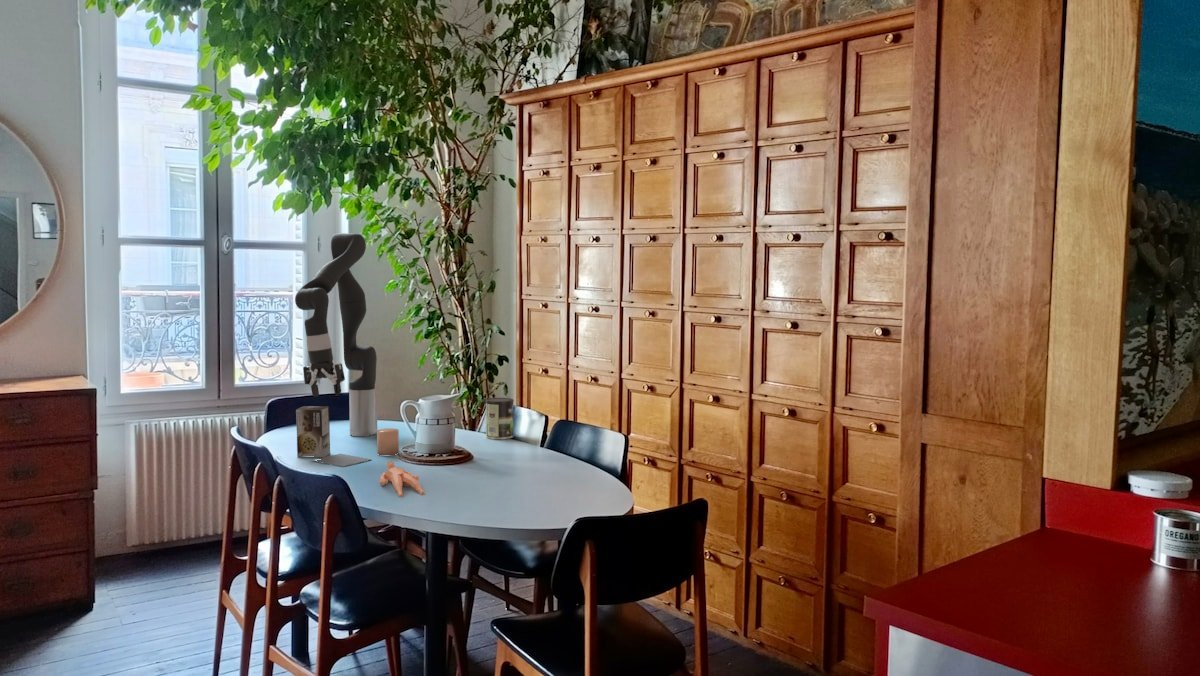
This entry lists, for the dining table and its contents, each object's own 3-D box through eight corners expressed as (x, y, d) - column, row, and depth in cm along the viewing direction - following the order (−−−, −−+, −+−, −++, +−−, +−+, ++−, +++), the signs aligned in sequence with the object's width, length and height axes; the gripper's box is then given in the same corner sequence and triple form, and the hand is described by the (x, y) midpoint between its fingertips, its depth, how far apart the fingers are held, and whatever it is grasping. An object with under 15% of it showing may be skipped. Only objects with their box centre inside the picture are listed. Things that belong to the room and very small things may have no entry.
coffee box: (330, 453, 290) (330, 406, 289) (322, 458, 284) (322, 409, 282) (304, 452, 291) (304, 405, 290) (296, 457, 285) (295, 408, 283)
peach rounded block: (388, 450, 296) (388, 427, 295) (403, 453, 292) (403, 429, 292) (372, 454, 290) (372, 430, 289) (387, 457, 286) (387, 433, 286)
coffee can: (514, 434, 327) (515, 397, 326) (511, 439, 317) (511, 401, 316) (487, 434, 327) (487, 397, 326) (483, 439, 317) (483, 401, 316)
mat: (340, 454, 289) (340, 453, 289) (371, 460, 281) (371, 459, 281) (311, 461, 279) (311, 460, 279) (343, 467, 271) (342, 466, 271)
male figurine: (392, 487, 236) (371, 460, 257) (392, 504, 236) (371, 477, 258) (431, 483, 241) (406, 457, 262) (430, 500, 242) (406, 473, 263)
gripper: (344, 344, 289) (351, 392, 291) (308, 347, 294) (316, 394, 296) (330, 348, 282) (338, 397, 284) (294, 351, 286) (302, 399, 289)
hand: (327, 395), depth 290 cm, fingers open, 8 cm apart
